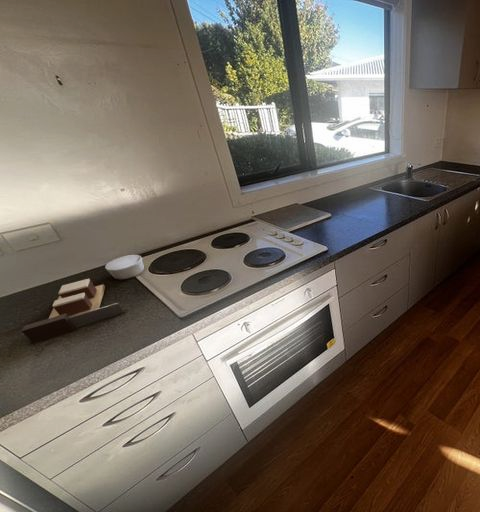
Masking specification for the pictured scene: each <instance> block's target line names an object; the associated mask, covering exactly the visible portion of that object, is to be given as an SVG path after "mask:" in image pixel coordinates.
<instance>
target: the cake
mask: <svg viewBox="0 0 480 512" xmlns="http://www.w3.org/2000/svg"><path fill="white" fill-rule="evenodd" d="M95 287H96V286H95V285H94V283H93V282H92V280H91V279H90V278H85V279H81V280H78V281H75V282H70V283H67V284H63V285H61V287H60V289H59V291H58V295H59V296H61V298H66V297H70V296H73V295H77V294H80V293H85V294H86V296H87V297H88V299H91V298H94V297H95V294H96V291H97V289H96V288H95Z"/></svg>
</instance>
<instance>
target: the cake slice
mask: <svg viewBox="0 0 480 512" xmlns="http://www.w3.org/2000/svg"><path fill="white" fill-rule="evenodd" d="M51 307H52V308H54V309H55V310H56V311H57V313H58V314H59V315H63V314H66V313H67V314H68V316H71V315H74V314H77V313H81V312H84V311H87V310H91V308H92V303H91V301H90V300H89V299H88V297H87V296H86V294H85V293H80V294H77V295H73V296H70V297H66V298H62V299H59V300H58V299H56V300H54V301H53V303H52V306H51Z"/></svg>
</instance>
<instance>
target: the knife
mask: <svg viewBox="0 0 480 512" xmlns="http://www.w3.org/2000/svg"><path fill="white" fill-rule="evenodd" d="M124 313H125V310H124V309H123V307H122V306H121V304H120V303H119V302H116V303H111V304H109V305H106V306H102V307H100V308H99V309H95V310H92V311H89V312H85V313H82V314H79V315H75V316H72V317H69V316H68V314H67V313H66V314H63V315H59V316H56V317H52V318H49V317H48V318H46V319H42V320H39V321H36V322H32V323H29V324H26V325H24V326H23V328H22V329H21V333H23V335H24V336H25V337H26V338H27V339H28V340H29V342H31V344H36V343H39V342H42V341H45V340H48V339H52V338H55V337H58V336H61V335H64V334H67V333H71V332H73V331H75V329H78V328H81V327H84V326H87V325H90V324H93V323H96V322H99V321H103V320H106V319H109V318H111V317H116V316H118V315H121V314H124Z"/></svg>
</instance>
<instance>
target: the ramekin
mask: <svg viewBox="0 0 480 512" xmlns="http://www.w3.org/2000/svg"><path fill="white" fill-rule="evenodd" d="M104 268H105V270H106V271H107V272H108V273H109V274H110V275H111V277H113V278H114V279H117V280H127V279H131V278H134V277H137V276H139V275H140V274H141V273H142V272H143V271H144V269H145V266H144V262H143V258H142V256H141V255H140V254H129V255H123V256H120V257H117V258H114V259H112V260H111V261H109V262H108V263H106V264H105V266H104Z"/></svg>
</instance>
